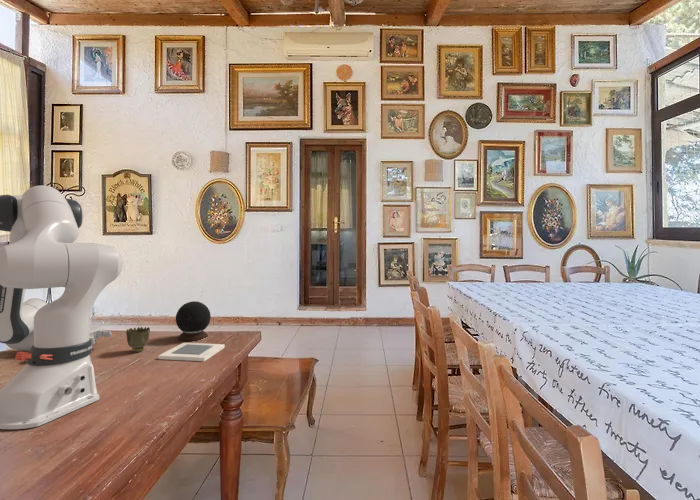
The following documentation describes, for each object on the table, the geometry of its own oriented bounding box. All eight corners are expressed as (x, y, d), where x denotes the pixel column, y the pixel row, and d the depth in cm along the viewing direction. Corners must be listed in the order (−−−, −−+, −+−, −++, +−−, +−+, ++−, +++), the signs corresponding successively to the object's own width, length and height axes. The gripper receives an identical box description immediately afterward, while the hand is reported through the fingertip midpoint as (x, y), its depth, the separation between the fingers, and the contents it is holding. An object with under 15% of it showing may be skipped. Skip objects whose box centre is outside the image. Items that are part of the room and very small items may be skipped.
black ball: (175, 335, 154) (175, 299, 154) (209, 332, 159) (209, 298, 159) (175, 343, 142) (175, 305, 142) (211, 340, 148) (212, 303, 147)
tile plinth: (204, 361, 122) (204, 356, 122) (158, 359, 124) (158, 354, 124) (224, 347, 138) (224, 343, 138) (183, 345, 140) (183, 341, 140)
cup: (148, 353, 130) (148, 330, 129) (123, 355, 127) (124, 332, 127) (151, 347, 136) (151, 326, 136) (128, 349, 134) (128, 327, 134)
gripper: (39, 336, 119) (84, 336, 120) (79, 322, 139) (118, 322, 140) (38, 355, 119) (84, 355, 120) (79, 339, 139) (118, 338, 140)
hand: (103, 337), depth 130 cm, fingers open, 8 cm apart
